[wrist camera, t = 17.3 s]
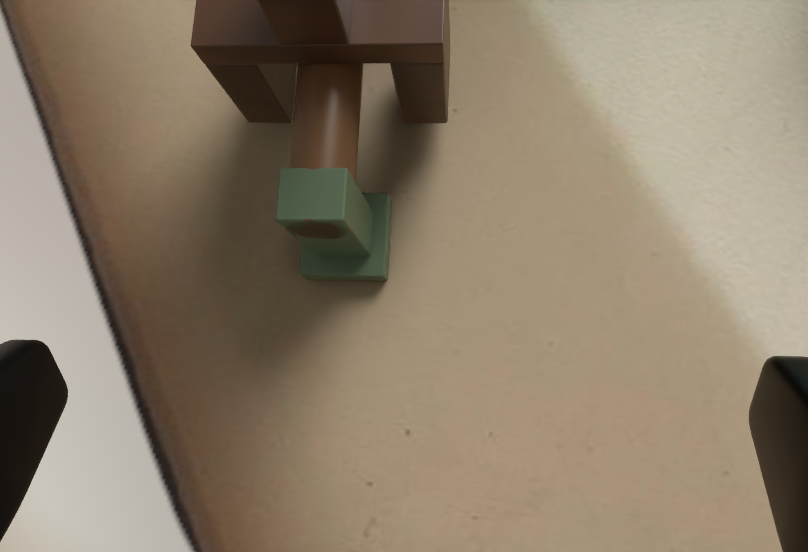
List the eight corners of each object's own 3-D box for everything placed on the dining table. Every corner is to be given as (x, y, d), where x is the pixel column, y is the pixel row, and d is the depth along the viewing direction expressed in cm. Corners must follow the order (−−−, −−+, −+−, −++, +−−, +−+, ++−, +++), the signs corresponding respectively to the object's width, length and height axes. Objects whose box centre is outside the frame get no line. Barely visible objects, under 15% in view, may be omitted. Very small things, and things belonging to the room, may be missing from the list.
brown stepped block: (450, 46, 22) (442, -205, 13) (447, 124, 22) (437, -82, 13) (256, 48, 23) (119, -189, 14) (248, 123, 23) (99, -72, 13)
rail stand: (387, 281, 22) (360, 246, 17) (305, 279, 22) (255, 244, 17) (406, -66, 25) (386, -181, 20) (332, -62, 25) (295, -175, 20)
